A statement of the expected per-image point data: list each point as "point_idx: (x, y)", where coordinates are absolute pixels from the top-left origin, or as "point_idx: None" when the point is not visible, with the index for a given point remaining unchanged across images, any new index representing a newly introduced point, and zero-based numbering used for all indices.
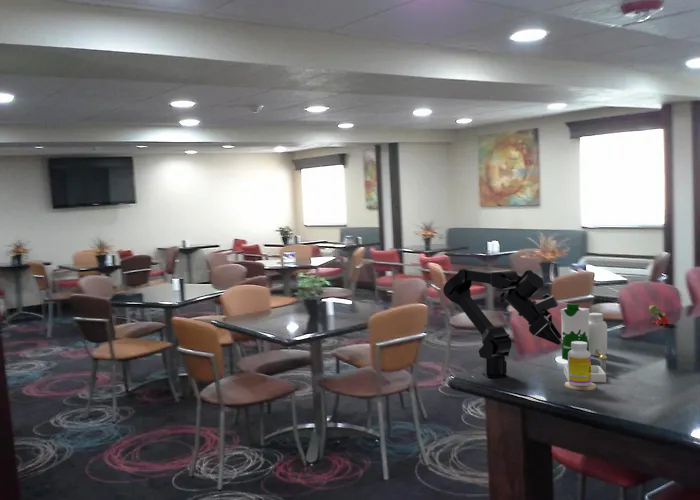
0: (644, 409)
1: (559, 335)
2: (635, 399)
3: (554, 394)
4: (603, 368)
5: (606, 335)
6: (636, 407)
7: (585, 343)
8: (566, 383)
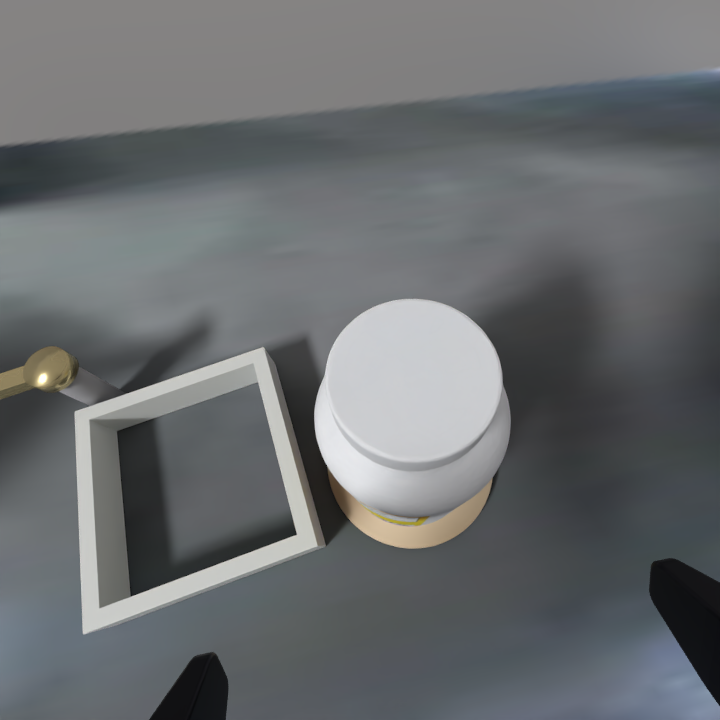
0: (617, 186)
1: (204, 702)
2: (501, 227)
3: (654, 560)
4: (110, 389)
5: None
6: (610, 208)
7: (431, 307)
8: (422, 536)
